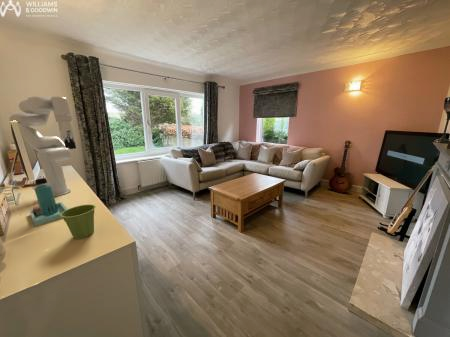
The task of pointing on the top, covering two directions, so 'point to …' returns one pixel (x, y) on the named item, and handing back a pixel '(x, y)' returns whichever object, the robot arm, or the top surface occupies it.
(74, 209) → the plant pot
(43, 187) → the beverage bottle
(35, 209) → the walnut block
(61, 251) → the top surface
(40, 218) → the tray
